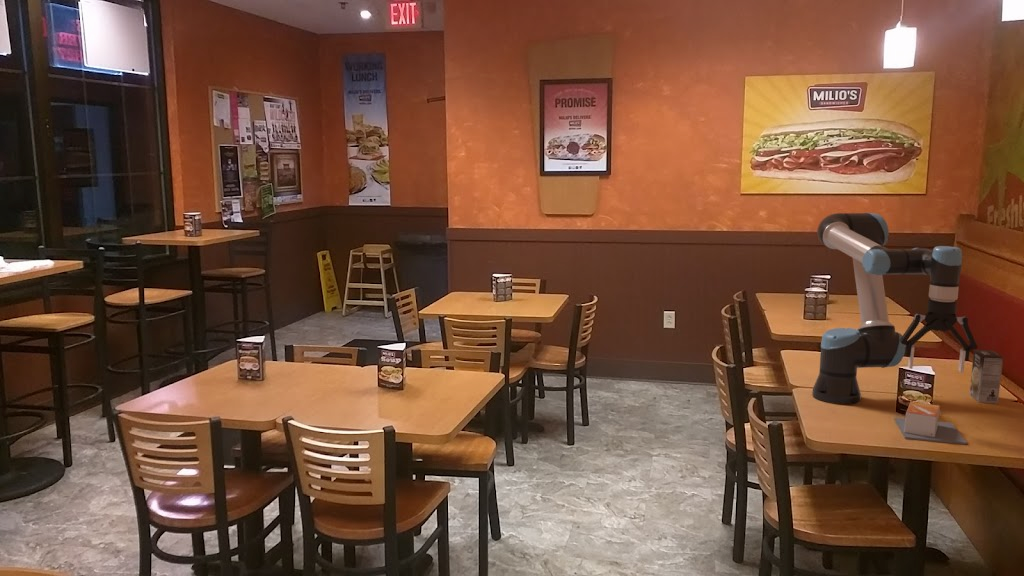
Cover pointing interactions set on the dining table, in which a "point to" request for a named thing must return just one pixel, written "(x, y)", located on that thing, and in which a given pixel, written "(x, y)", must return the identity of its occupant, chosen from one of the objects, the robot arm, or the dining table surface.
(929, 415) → the small box
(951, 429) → the slate mat
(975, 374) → the coffee box
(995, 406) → the dining table surface
